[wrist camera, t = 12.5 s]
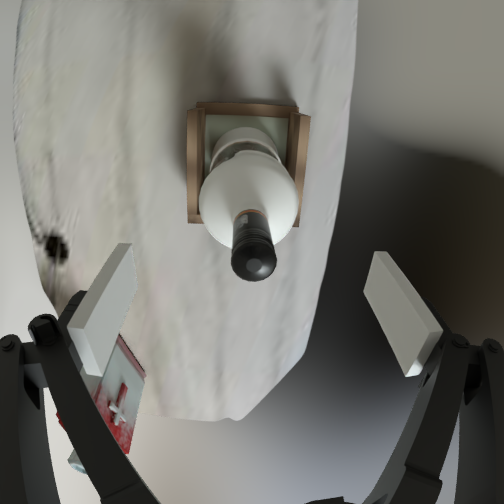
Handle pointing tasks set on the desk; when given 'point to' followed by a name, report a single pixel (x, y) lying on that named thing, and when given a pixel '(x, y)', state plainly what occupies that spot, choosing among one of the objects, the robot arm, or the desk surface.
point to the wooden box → (234, 116)
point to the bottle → (115, 396)
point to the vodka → (248, 200)
